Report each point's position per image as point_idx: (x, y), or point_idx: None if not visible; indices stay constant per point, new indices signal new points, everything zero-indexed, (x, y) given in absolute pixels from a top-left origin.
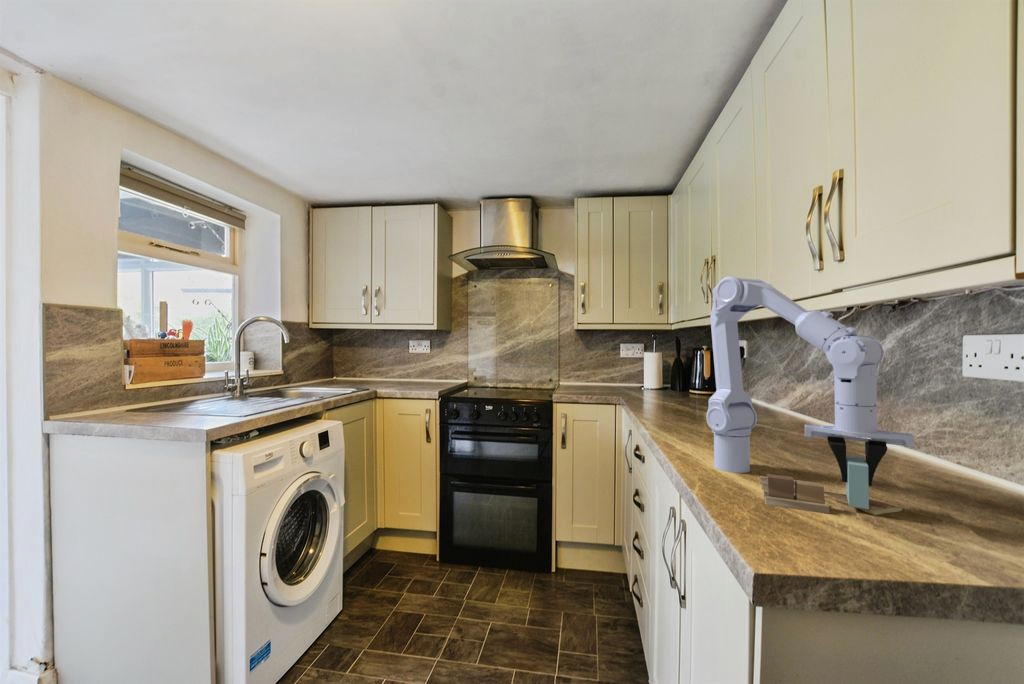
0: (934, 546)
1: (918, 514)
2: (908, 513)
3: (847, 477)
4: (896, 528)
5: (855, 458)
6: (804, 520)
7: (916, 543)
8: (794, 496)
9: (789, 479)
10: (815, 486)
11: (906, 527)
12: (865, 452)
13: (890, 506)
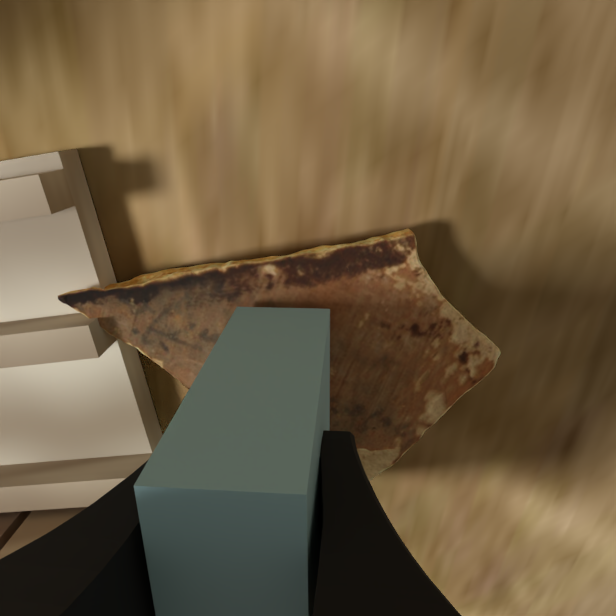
0: (505, 604)
1: (592, 232)
2: (542, 246)
3: None
4: (423, 499)
5: (228, 594)
6: None
7: (453, 605)
8: (24, 508)
9: None
10: None
11: (466, 468)
12: (316, 597)
13: (442, 394)
